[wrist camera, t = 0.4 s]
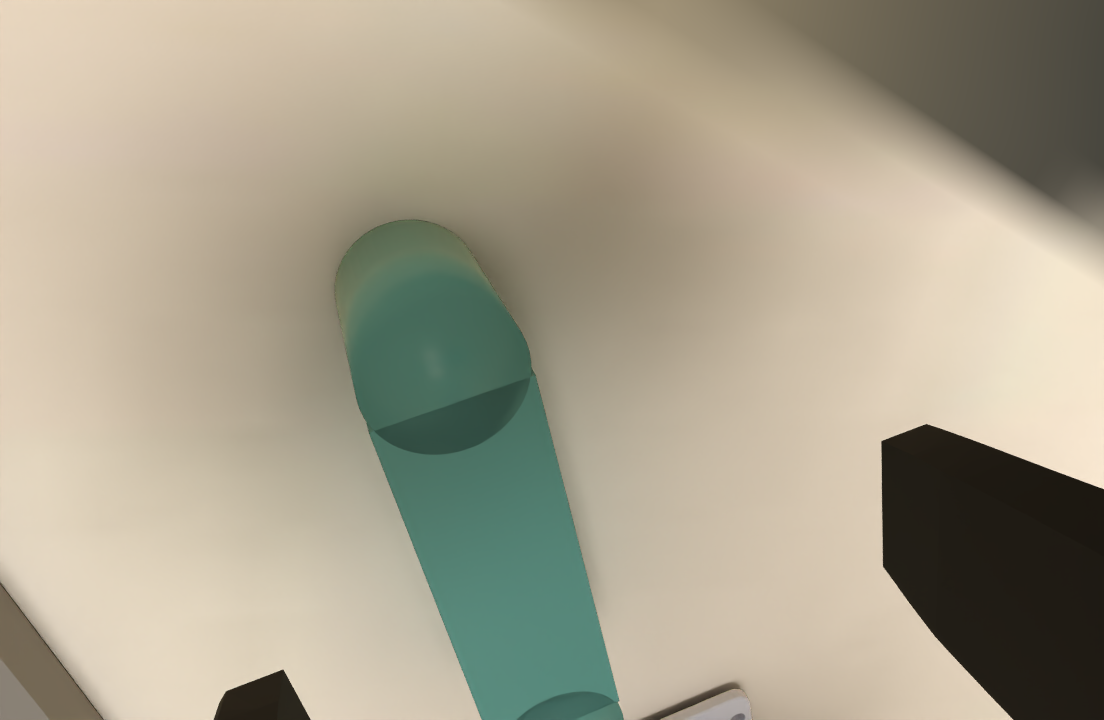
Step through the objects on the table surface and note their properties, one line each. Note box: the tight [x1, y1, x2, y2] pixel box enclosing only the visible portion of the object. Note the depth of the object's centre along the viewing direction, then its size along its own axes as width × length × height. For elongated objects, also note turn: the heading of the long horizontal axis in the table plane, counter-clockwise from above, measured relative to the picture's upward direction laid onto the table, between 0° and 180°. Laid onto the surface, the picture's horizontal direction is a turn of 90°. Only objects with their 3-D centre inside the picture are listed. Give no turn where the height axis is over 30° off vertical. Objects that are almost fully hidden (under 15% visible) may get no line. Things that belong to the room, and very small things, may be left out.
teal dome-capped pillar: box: [335, 220, 624, 720], centre depth 19 cm, size 13×3×4 cm, turn 12°
